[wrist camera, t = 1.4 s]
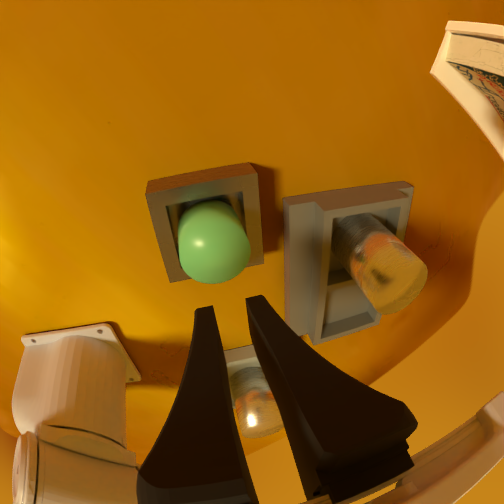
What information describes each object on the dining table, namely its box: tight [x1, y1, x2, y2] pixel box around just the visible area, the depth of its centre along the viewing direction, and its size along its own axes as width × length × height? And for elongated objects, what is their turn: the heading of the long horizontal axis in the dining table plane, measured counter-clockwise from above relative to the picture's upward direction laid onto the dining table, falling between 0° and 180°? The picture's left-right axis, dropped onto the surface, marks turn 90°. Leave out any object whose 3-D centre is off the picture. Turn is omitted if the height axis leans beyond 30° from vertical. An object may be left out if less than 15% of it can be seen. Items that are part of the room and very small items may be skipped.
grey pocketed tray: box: [283, 181, 414, 345], centre depth 23 cm, size 10×13×3 cm
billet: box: [229, 367, 284, 438], centre depth 26 cm, size 4×4×6 cm
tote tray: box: [224, 345, 261, 409], centre depth 29 cm, size 9×9×1 cm
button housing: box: [145, 162, 264, 283], centre depth 18 cm, size 6×6×2 cm
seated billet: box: [331, 212, 428, 314], centre depth 19 cm, size 4×4×6 cm
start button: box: [178, 200, 251, 284], centre depth 16 cm, size 4×4×3 cm
